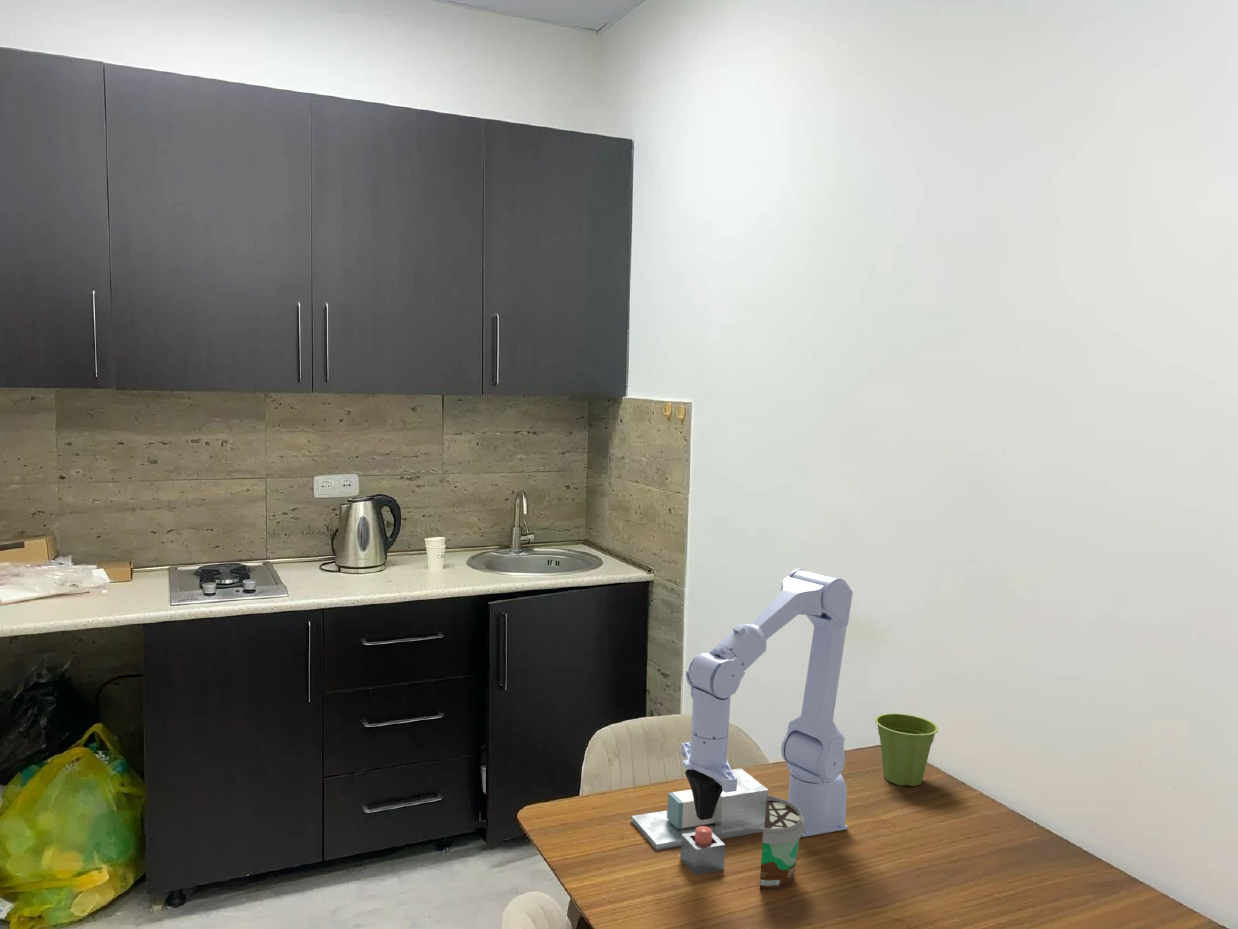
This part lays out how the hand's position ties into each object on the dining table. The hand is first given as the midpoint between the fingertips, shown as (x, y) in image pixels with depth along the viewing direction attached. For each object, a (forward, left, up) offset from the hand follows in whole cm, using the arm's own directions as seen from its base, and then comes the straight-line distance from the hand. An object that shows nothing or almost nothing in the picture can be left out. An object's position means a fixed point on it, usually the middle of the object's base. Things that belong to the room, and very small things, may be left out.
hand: (704, 817), depth 140 cm
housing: (-6, -11, -8) cm, 14 cm away
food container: (-10, +7, -8) cm, 14 cm away
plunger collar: (0, 0, -8) cm, 8 cm away
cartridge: (-7, -11, -6) cm, 14 cm away
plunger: (0, 0, -6) cm, 6 cm away
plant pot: (-53, -16, -8) cm, 56 cm away
